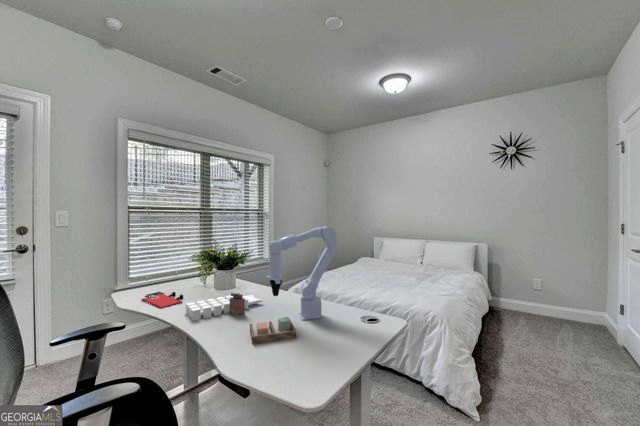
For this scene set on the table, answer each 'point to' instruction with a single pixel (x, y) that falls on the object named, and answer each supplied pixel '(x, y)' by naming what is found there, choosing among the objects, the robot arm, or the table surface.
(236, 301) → the red printed tin
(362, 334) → the table surface
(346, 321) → the table surface
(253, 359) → the table surface
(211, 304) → the organizer
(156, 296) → the red board with handle
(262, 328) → the terracotta block
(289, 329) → the sage block
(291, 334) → the rack
